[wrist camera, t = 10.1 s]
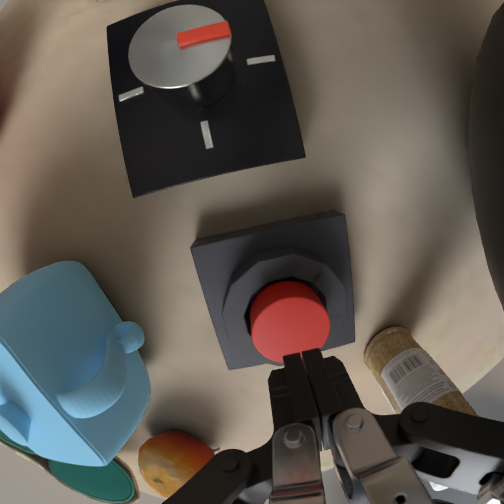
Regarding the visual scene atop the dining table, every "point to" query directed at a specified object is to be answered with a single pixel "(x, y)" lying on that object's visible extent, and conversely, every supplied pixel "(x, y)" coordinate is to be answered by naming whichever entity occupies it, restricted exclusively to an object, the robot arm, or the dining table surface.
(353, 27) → the dining table surface
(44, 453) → the teapot
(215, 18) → the hob knob
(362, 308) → the dining table surface
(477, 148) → the ball
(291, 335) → the button
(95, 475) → the ballet flat
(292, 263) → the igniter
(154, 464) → the fruit
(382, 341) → the spice jar
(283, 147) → the hob knob base
